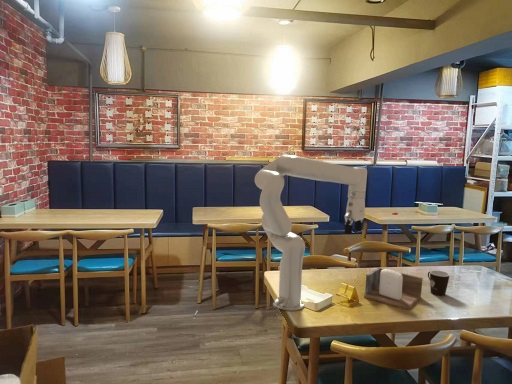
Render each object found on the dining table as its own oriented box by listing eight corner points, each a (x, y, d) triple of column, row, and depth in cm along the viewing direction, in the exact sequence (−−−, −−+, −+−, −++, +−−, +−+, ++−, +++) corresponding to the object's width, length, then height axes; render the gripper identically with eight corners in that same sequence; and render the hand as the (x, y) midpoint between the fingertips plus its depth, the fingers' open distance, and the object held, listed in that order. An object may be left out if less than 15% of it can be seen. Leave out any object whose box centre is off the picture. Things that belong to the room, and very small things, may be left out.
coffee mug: (449, 298, 186) (451, 277, 185) (430, 296, 188) (432, 275, 187) (443, 288, 198) (445, 269, 196) (425, 287, 199) (426, 267, 198)
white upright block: (377, 294, 185) (379, 268, 183) (382, 291, 188) (383, 266, 186) (398, 301, 177) (400, 274, 176) (402, 298, 180) (405, 272, 179)
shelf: (408, 309, 172) (409, 286, 171) (363, 297, 184) (365, 275, 183) (420, 297, 186) (422, 275, 185) (379, 286, 198) (380, 266, 197)
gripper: (355, 197, 171) (351, 236, 173) (372, 194, 185) (368, 231, 187) (339, 194, 176) (336, 233, 178) (357, 192, 189) (354, 228, 191)
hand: (353, 232), depth 182 cm, fingers open, 9 cm apart
